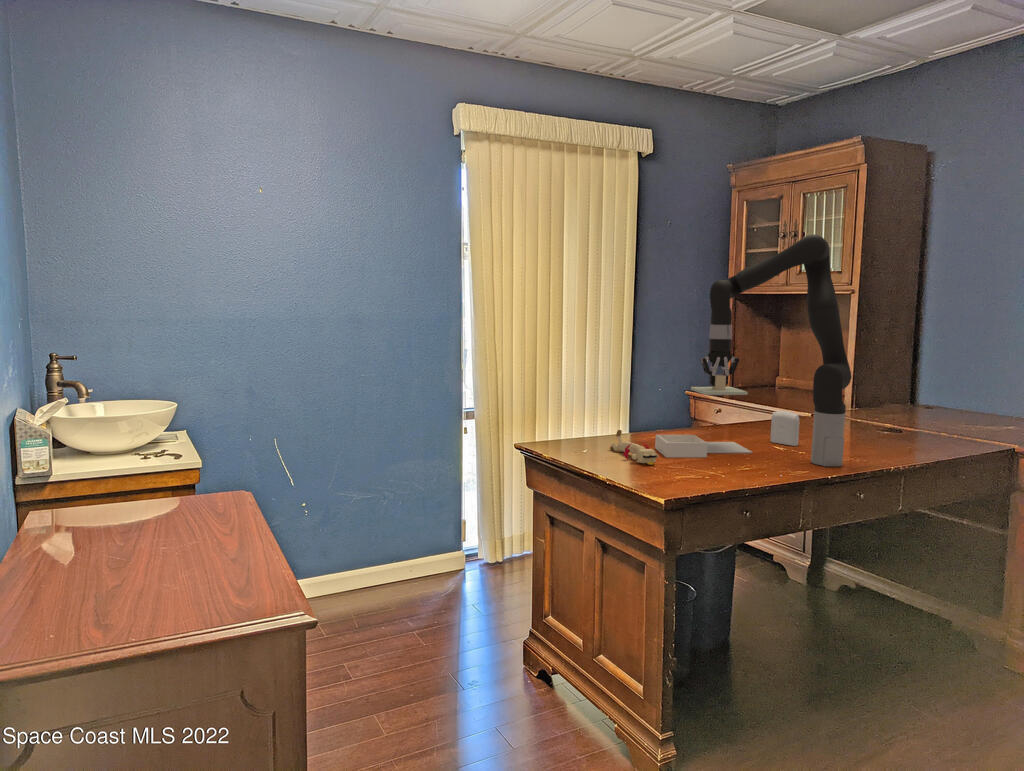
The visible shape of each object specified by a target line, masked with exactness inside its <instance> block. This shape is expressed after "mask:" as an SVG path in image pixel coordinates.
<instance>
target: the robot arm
mask: <svg viewBox="0 0 1024 771" xmlns="http://www.w3.org/2000/svg"><path fill="white" fill-rule="evenodd" d="M830 250H831V249H830V245H829V242H828V241H827V240H826V239H825V238H824V237H823V236H821V235H819V234H815V233H814V234H808V235H805V236H804V237H802V238H801V239H799V240H798V241H796V242H795V243H794V244H792V245H790V246H789V247H786V248H785V249H784V250H782V251H780V252H778V253H776V254H775V255H773V256H771V257H768V258H766V259H764V260H762V261H760V262H759V261H758V262H757V263H756V264H753V265H750V266H749V267H746V268H744V269H742V270H740V271H739V272H737V273H736V274H735V275H733V276H730V277H728V278H726V279H719V280H715V281H714V282H713V283H712V284H711V286H710V290H709V300H710V301H709V302H710V303H709V304H710V310H711V312H710V313H711V315H710V328H709V336H708V337H709V340H708V341H709V344H708V346H709V348H708V349H709V350H708V354H707V356H705V357H700V359H699V360H700V362H701V363H700V364H701V365H702V366H701V367H702V369H703V372H704V373H705V374H706V375H709V385H710V387H712V386H715V375H716V372H717V371H718V367H721V370H722V373H723V374H722V375H725V376H726V387H728V385H729V376H731V375H734V373H735V372H736V369H737V367H738V365H739V362H740V358H738V357H735V356H733V355H732V342H733V340H732V339H733V326H732V324H733V321H732V320H733V312H732V308H731V299H733V298H736V297H737V296H739V295H741V294H742V293H744V292H745V291H749V290H751V289H753V288H755V287H759V286H760V285H762V284H765V283H766V282H768V281H769V282H770V281H771V280H772V279H773V278H775V277H777V276H779V275H780V274H782V273H784V272H786V271H788V270H790V269H792V268H795V267H797V266H801V265H803V267H804V270H805V276H806V280H807V281H806V282H807V290H806V291H807V293H806V306H807V308H806V309H807V315H808V316H807V317H808V321H809V327H810V328H811V331H812V333H813V335H814V337H815V339H816V341H817V343H818V345H819V347H820V350H821V356H822V365H820V366H819V367H817V368H816V370H815V372H814V374H813V375H814V376H813V382H812V383H813V384H812V386H813V387H812V403H813V405H814V410H813V412H814V413H813V426H812V442H811V453H810V454H811V456H810V462H811V463H812V464H814V465H818V466H822V467H843V458H844V446H845V438H844V433H845V422H846V421H845V419H846V408H847V407H846V404H845V403H844V401H843V390H844V389H846V388H848V386H849V385H850V383H851V380H852V371H851V367H850V363H849V361H848V357H847V356H848V355H847V353H846V350H845V345H844V337H843V330H842V329H843V328H842V324H841V316H840V315H841V314H840V310H839V303H838V300H837V294H836V291H835V287H834V286H835V285H834V283H833V278H832V273H831V259H830V258H831V257H830V256H831V254H830ZM709 362H710V367H709ZM729 362H730V363H731V364H730V366H729Z"/></svg>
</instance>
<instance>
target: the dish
mask: <svg viewBox="0 0 1024 771" xmlns="http://www.w3.org/2000/svg"><path fill="white" fill-rule="evenodd" d="M707 442H708V441H705V440H703V439H702V438H700V437H699V436H697V435H695V434H655V445H654V446H655V449H654V450H655V451H658V453H660V454H661V455H662V456H663V457H664V458H668V459H669V458H675V459H677V458H708V453H707V444H708V443H707Z"/></svg>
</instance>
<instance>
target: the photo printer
mask: <svg viewBox="0 0 1024 771" xmlns="http://www.w3.org/2000/svg"><path fill="white" fill-rule="evenodd" d="M799 433H800V416H799V414H797V413H794V412H793V411H787V410H777V411H773V412H772V415H771V424H770V443H772V444H773V443H774V444H780V445H787V446H790V447H791V446H793V447H798V445H799V437H800V434H799Z"/></svg>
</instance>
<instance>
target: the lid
mask: <svg viewBox="0 0 1024 771" xmlns="http://www.w3.org/2000/svg"><path fill="white" fill-rule="evenodd" d="M690 391H694V392H696V393H699V394H701V395H704V396H741V395H742V396H744V395H745V396H746V395H747V396H748V393H749V391H746V390H743V389H739V388H737V387H736V388H735V387H734V386H733V387H732V386H726V376H725V375H724V374H715V386H690Z"/></svg>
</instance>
